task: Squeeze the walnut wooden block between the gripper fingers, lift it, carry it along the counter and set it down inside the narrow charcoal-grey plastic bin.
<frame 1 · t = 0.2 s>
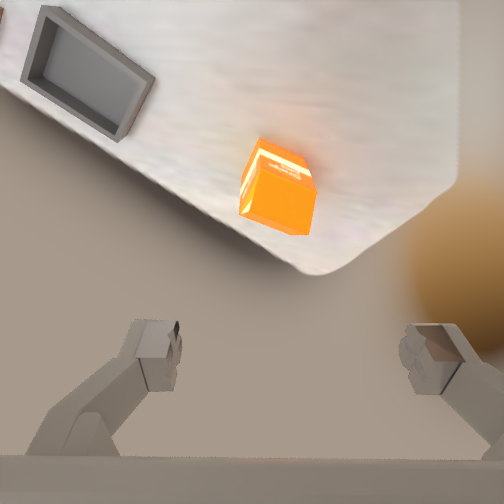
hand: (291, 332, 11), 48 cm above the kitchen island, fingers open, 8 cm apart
bin: (96, 77, 49), on the kitchen island
orange juice: (272, 167, 57), on the kitchen island
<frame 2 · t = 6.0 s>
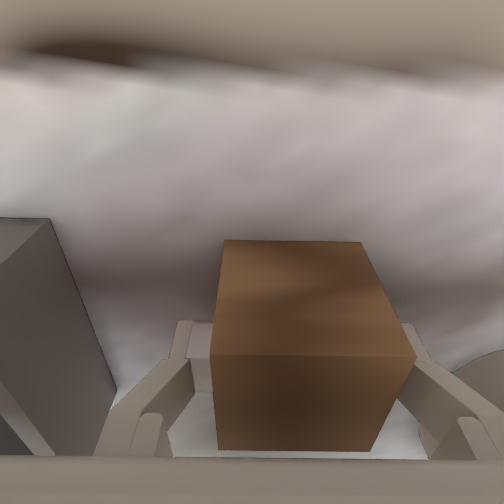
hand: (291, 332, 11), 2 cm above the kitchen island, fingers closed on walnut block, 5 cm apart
walnut block: (287, 291, 13), on the kitchen island, touching gripper
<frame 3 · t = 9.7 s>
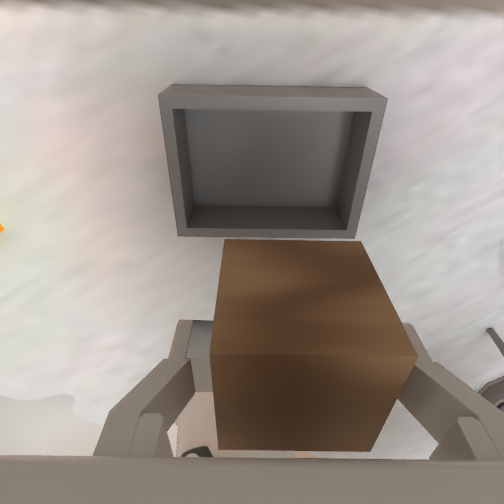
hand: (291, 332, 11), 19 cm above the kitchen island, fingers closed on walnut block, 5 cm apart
bin: (267, 155, 27), on the kitchen island
walnut block: (287, 291, 13), point 17 cm above the kitchen island, touching gripper
when the fingers open (5 cm above the kitchen island, at t = 13.5 s): walnut block drops 2 cm, resting on bin.
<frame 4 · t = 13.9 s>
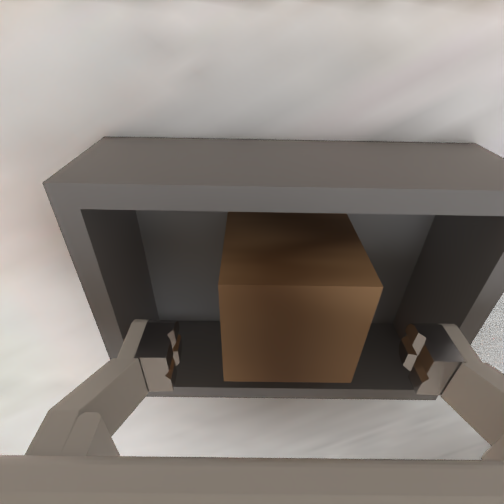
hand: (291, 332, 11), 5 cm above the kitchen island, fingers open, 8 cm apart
bin: (281, 250, 16), on the kitchen island
walnut block: (282, 255, 15), resting on bin
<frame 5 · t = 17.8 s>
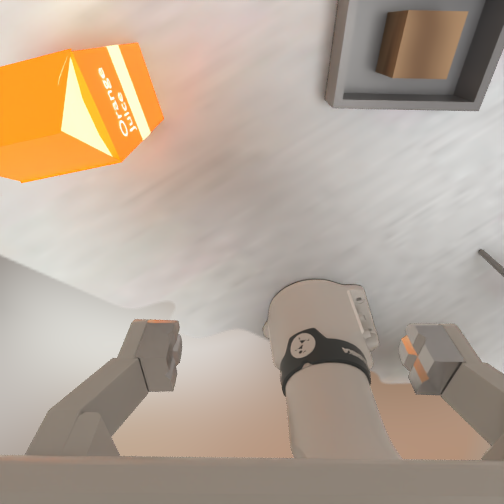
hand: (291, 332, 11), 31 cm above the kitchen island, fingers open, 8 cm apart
bin: (403, 44, 33), on the kitchen island
walnut block: (406, 44, 32), resting on bin
orange juice: (115, 91, 35), on the kitchen island
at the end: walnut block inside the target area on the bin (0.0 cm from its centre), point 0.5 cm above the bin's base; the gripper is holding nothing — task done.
